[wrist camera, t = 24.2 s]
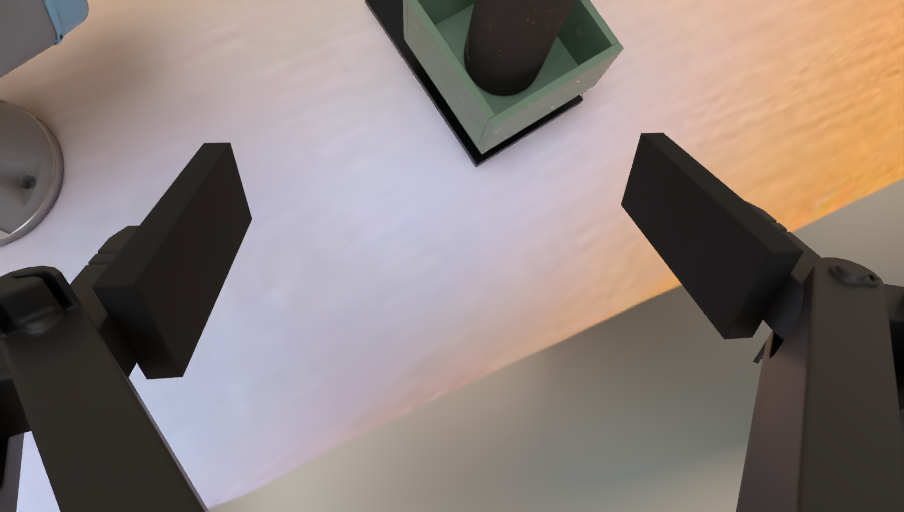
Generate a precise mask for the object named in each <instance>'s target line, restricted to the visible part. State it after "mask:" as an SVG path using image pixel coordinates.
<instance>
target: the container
mask: <svg viewBox="0 0 904 512" xmlns="http://www.w3.org/2000/svg"><path fill="white" fill-rule="evenodd" d="M574 1H575V0H475V2H474V7H473V10H472V15H471V19H470V24H469V28H468V33H467V37H466V42H465V47H464V63H465V67H466V70H467V73H468V74H469V76H470V78H471V79H472V80H473V82H474V83H475V84H476V85H477V86H479V87H480V88H481V89H483V90H485V91H486V92H489V93H491V94H494V95H500V96H508V95H514V94H517V93H520V92H522V91H524V90H525V89H527V88H528V87H529V86H530V85H531V84H532V83H533V82H534V80H535V79H536V77H537V75H538V73H539V72H540V70H541V68H542V66H543V64H544V62H545V59H546V57H547V55H548V53H549V51H550V49H551V47H552V45H553V43H554V41H555V39H556V37H557V35H558V33H559V31H560V29H561V27H562V25H563V23H564V21H565V19H566V17H567V15H568V13H569V11H570V9H571V7H572V5H573V3H574Z"/></svg>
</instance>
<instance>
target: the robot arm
mask: <svg viewBox="0 0 904 512" xmlns="http://www.w3.org/2000/svg"><path fill="white" fill-rule="evenodd" d="M88 11H89V7H88V1H87V0H0V78H1V77H2V76H4V75H5V74H7V73H9V72H10V71H12V70H14V69H15V68H17V67H18V66H20V65H22V64H23V63H25V62H27V61H28V60H30V59H31V58H33V57H35V56H36V55H38V54H40V53H41V52H43V51H45V50H46V49H48V48H49V47H51V46H53V45H57V44H59V43H60V42H61V41H62V39H63V36H64V35H66V34H67V33H68V32H70V31H71V30H72V29H74V28H75V27H76V26H78V25H79V24H81V23H82V22H83V21H84V20H85V19H86V17H87V15H88ZM62 178H63V160H62V155H61V151H60V148H59V145H58V143H57V141H56V139H55V137H54V135H53V134H52V133H51V131H50V130H49V129H48V127H47V126H46V125H45V124H44V123H43V122H42V121H41V120H39V119H38V118H37V117H35V116H34V115H32V114H31V113H29V112H27V111H25V110H24V109H22V108H20V107H18V106H16V105H14V104H12V103H9V102H7V101H4V100H1V99H0V246H2V245H5V244H7V243H10V242H12V241H14V240H16V239H18V238H20V237H21V236H23V235H25V234H26V233H28V232H29V231H30V230H32V229H33V228H34V227H35V226H36V225H37V224H39V222H40V221H41V220H42V219H43V218H44V217H45V216H46V215H47V213H48V212H49V211H50V209H51V208H52V206H53V204H54V202H55V200H56V199H57V196H58V194H59V191H60V188H61V184H62ZM621 205H622V207H623V208H624V209H625V211H626V212H627V213H628V215H629V216H630V217H631V218H632V220H633V221H634V222H635V224H636V225H637V226H638V228H639V229H640V230H641V232H642V233H643V234H644V235H645V237H646V238H647V239H648V241H649V242H650V243H651V245H652V246H653V247H654V248H655V250H656V251H657V252H658V254H659V255H660V256H661V258H662V259H663V260H664V261H665V263H666V264H667V265H668V267H669V268H670V269H671V271H672V272H673V273H674V275H675V276H676V277H677V278H678V280H679V281H680V282H681V284H682V285H683V286H684V288H685V289H686V290H687V291H688V293H689V294H690V295H691V297H692V298H693V299H694V301H695V302H696V303H697V304H698V306H699V307H700V308H701V310H702V311H703V312H704V314H705V315H706V316H707V318H708V319H709V320H710V321H711V323H712V324H713V325H714V327H715V328H716V329H717V331H718V332H719V333H720V334H721V336H722V337H723V338H724V339H736V338H750V337H753V335H754V334H755V332H756V330H757V329H758V327H759V325H760V324H761V322H762V320H764V321H765V322H766V323H767V324H768V326H769V327H770V328H771V329H772V330H773V331H772V333H771V334H770V336H769V337H768V339H767V341H766V342H765V344H764V345H763V347H762V348H761V350H760V352H759V353H758V355H757V356H756V358H755V359H754V361H753V362H756V363H759V361H760V360H761V359H763V361H762V367H761V373H760V378H759V384H758V390H757V395H756V401H755V407H754V412H753V418H752V424H751V429H750V435H749V441H748V447H747V453H746V458H745V464H744V470H743V475H742V481H741V487H740V492H739V498H738V504H737V509H736V512H904V287H901V286H894V285H888V284H883V282H882V280H881V278H879V277H878V276H877V275H876V274H875V273H874V272H872V271H871V270H869V269H867V268H865V267H864V266H862V265H859V264H856V263H854V262H851V261H848V260H844V259H839V258H827V257H826V258H821V257H820V256H819V255H818V254H816V253H815V252H814V251H813V250H812V249H810V248H809V247H808V246H807V245H805V244H804V243H803V242H802V241H801V240H799V239H798V238H797V237H796V236H794V235H793V234H792V233H791V232H787V229H786V228H785V227H784V226H782V225H781V224H780V223H776V220H775V219H774V218H773V217H771V216H770V215H769V214H768V213H766V212H765V211H764V210H762V209H760V208H758V207H756V206H754V205H752V204H750V203H748V202H746V201H744V200H743V199H742V198H740V197H739V196H738V195H737V194H736V193H734V192H733V191H732V190H731V189H730V188H728V187H727V186H726V185H725V184H724V183H722V182H721V181H720V180H719V179H718V178H716V177H715V176H714V175H713V174H712V173H711V172H709V171H708V170H707V169H706V168H705V167H703V166H702V165H701V164H700V163H699V162H697V161H696V160H695V159H694V158H693V157H691V156H690V155H689V154H688V153H687V152H685V151H684V150H683V149H682V148H681V147H679V146H678V145H677V144H676V143H675V142H674V141H672V140H671V139H670V138H669V137H668V136H666V135H665V134H664V133H641V136H640V139H639V143H638V146H637V150H636V154H635V157H634V161H633V164H632V168H631V171H630V175H629V178H628V182H627V185H626V189H625V193H624V196H623V200H622V203H621ZM251 220H252V217H251V214H250V210H249V207H248V203H247V200H246V196H245V193H244V189H243V186H242V182H241V179H240V175H239V172H238V168H237V165H236V161H235V158H234V154H233V151H232V147H231V144H230V143H204V144H203V145H202V146H201V147H200V149H199V150H198V151H197V153H196V154H195V155H194V156H193V158H192V159H191V160H190V162H189V163H188V164H187V165H186V167H185V168H184V169H183V171H182V172H181V173H180V174H179V176H178V177H177V178H176V180H175V181H174V182H173V183H172V185H171V186H170V187H169V189H168V190H167V191H166V192H165V194H164V195H163V196H162V197H161V199H160V200H159V201H158V203H157V204H156V205H155V206H154V208H153V209H152V210H151V212H150V213H149V214H148V215H147V217H146V218H145V219H144V221H143V222H142V223H141V224H140V226H127V227H125V228H124V229H122V230H121V231H119V232H118V233H116V234H115V235H113V236H112V237H110V238H109V239H108V240H107V241H106V242H105V244H104V245H103V246H102V247H101V248H100V249H99V251H98V254H95V255H94V257H93V258H92V259H91V260H90V261H89V262H88V263H89V265H86V266H85V267H84V268H83V270H82V271H81V272H80V273H79V274H78V276H77V277H76V278H75V279H74V280H73V281H72V283H71V284H70V285H69V284H68V282H67V280H66V279H65V277H64V276H63V274H62V273H61V272H60V271H59V270H58V269H56V268H55V267H48V266H37V267H27V268H24V269H20V270H17V271H13V272H10V273H8V274H5V275H3V276H1V277H0V512H16V508H17V499H18V489H19V479H20V469H21V459H22V449H23V439H24V433H25V432H29V431H32V434H33V437H34V440H35V442H36V445H37V448H38V451H39V453H40V456H41V459H42V462H43V465H44V467H45V470H46V473H47V476H48V478H49V481H50V484H51V487H52V489H53V492H54V495H55V498H56V500H57V503H58V506H59V509H60V512H209V511H208V509H207V507H206V506H205V504H204V502H203V501H202V499H201V497H200V496H199V494H198V492H197V491H196V489H195V487H194V486H193V484H192V482H191V481H190V479H189V477H188V476H187V474H186V472H185V471H184V469H183V467H182V466H181V464H180V462H179V461H178V459H177V457H176V456H175V454H174V452H173V451H172V449H171V447H170V446H169V444H168V442H167V441H166V439H165V437H164V436H163V434H162V432H161V431H160V429H159V427H158V426H157V424H156V422H155V421H154V419H153V417H152V416H151V414H150V412H149V411H148V409H147V407H146V406H145V404H144V402H143V401H142V399H141V397H140V396H139V394H138V392H137V391H136V389H135V387H134V386H133V384H132V383H131V381H130V379H129V378H128V377H129V376H130V374H131V372H132V370H133V368H134V367H135V365H136V363H137V364H138V365H139V367H140V369H141V370H142V372H143V374H144V375H145V377H146V379H160V378H174V377H183V375H184V373H185V371H186V368H187V366H188V364H189V361H190V359H191V357H192V355H193V352H194V350H195V348H196V345H197V343H198V341H199V339H200V336H201V334H202V332H203V330H204V327H205V325H206V323H207V320H208V318H209V316H210V314H211V311H212V309H213V307H214V304H215V302H216V300H217V298H218V295H219V293H220V291H221V289H222V286H223V284H224V282H225V279H226V277H227V275H228V273H229V270H230V268H231V266H232V264H233V261H234V259H235V257H236V254H237V252H238V250H239V248H240V245H241V243H242V241H243V238H244V236H245V234H246V232H247V229H248V227H249V225H250V223H251Z"/></svg>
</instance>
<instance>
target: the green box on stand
mask: <svg viewBox="0 0 904 512" xmlns="http://www.w3.org/2000/svg"><path fill="white" fill-rule="evenodd" d="M365 2H366V4H367V5H368V7H369V8H370V10H371V11H372V13H373V14H374V16H375V17H376V19H377V20H378V22H379V23H380V25H381V26H382V28H383V29H384V31H385V32H386V34H387V35H388V37H389V38H390V40H391V41H392V43H393V44H394V46H395V47H396V49H397V50H398V51H399V53H400V54H401V56H402V57H403V59H404V60H405V62H406V63H407V65H408V66H409V68H410V69H411V71H412V72H413V74H414V75H415V77H416V78H417V80H418V81H419V83H420V84H421V86H422V87H423V89H424V90H425V92H426V93H427V95H428V96H429V98H430V99H431V101H432V102H433V104H434V105H435V107H436V108H437V110H438V111H439V113H440V114H441V116H442V117H443V119H444V120H445V122H446V123H447V125H448V126H449V128H450V129H451V131H452V132H453V134H454V135H455V137H456V138H457V139H458V141H459V142H460V144H461V145H462V147H463V148H464V150H465V151H466V153H467V154H468V156H469V157H470V159H471V160H472V162H473V163H474V165H475V166H476V167H477V166H479V165H480V164H482V163H484V162H485V161H487V160H489V159H490V158H492V157H493V156H495V155H497V154H498V153H500V152H502V151H503V150H505V149H507V148H508V147H510V146H511V145H513V144H515V143H516V142H518V141H520V140H521V139H523V138H524V137H526V136H528V135H529V134H531V133H533V132H534V131H536V130H537V129H539V128H541V127H542V126H544V125H546V124H547V123H549V122H551V121H552V120H554V119H555V118H557V117H559V116H560V115H562V114H564V113H565V112H567V111H568V110H570V109H572V108H573V107H575V106H577V105H578V104H580V103H581V102H582V101H583V99H582V97H581V96H580V94H581V93H583V92H585V91H586V90H588V89H589V88H591V87H593V86H594V85H595V84H596V83H597V82H598V80H599V79H600V78H601V77H602V75H603V74H604V73H605V71H606V70H607V69H608V68H609V66H610V65H611V64H612V63H613V61H614V60H615V59H616V58H617V56H618V55H619V54H620V52H621V51H622V50H623V47H622V45H621V44H620V42H618V40H617V38H616V37H615V35H614V34H613V33H612V31H611V30H610V28H609V27H608V25H607V24H606V23H605V21H604V20H603V18H602V17H601V16H600V14H599V13H598V11H597V10H596V9H595V7H594V6H593V4H592V3H591V2H590V0H575V1H574V3H573V5H572V7H571V9H570V11H569V13H568V15H567V17H566V19H565V21H564V23H563V25H562V27H561V29H560V31H559V33H558V35H557V37H556V39H555V41H554V43H553V45H552V47H551V49H550V51H549V53H548V55H547V57H546V59H545V62H544V64H543V66H542V68H541V70H540V72H539V73H538V75H537V77H536V79H535V80H534V82H533V83H532V84H531V85H530V86H529V87H528V88H527V89H525V90H524V91H522V92H520V93H517V94H514V95H508V96H500V95H494V94H491V93H489V92H486V91H485V90H483V89H481V88H480V87H479V86H477V85H476V84H475V83H474V82H473V80H472V79H471V78H470V76H469V74H468V73H467V70H466V67H465V63H464V47H465V42H466V37H467V33H468V28H469V24H470V19H471V15H472V10H473V7H474V2H475V0H365Z"/></svg>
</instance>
